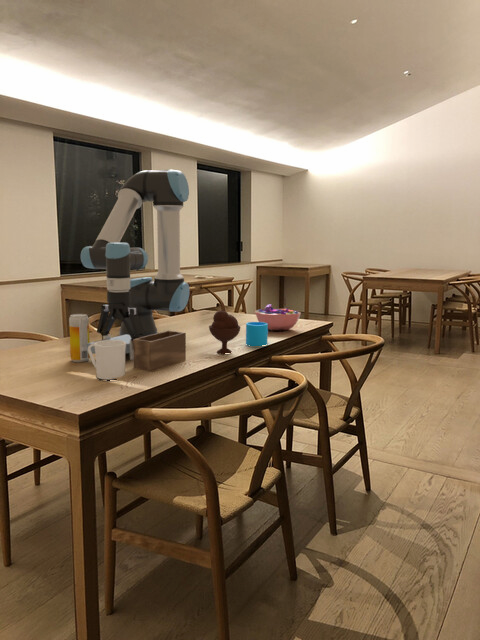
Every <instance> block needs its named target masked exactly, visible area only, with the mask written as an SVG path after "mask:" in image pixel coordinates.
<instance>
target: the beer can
mask: <svg viewBox="0 0 480 640" xmlns="http://www.w3.org/2000/svg"><path fill="white" fill-rule="evenodd" d="M89 320H90V319H89V317H88V314H85V313H73V314H70V316H69V318H68V323H69V327H68V328H69V349H70V351H69V353H70V360H72V362H74V363H85V362H88V361H89V359H91V358H90V355H89V353H87V343H90V321H89Z"/></svg>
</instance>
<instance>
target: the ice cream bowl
mask: <svg viewBox="0 0 480 640" xmlns="http://www.w3.org/2000/svg"><path fill="white" fill-rule="evenodd" d="M212 319H213V322H212V323H211V325H208V329H209V333H210V335H212V337H214V339H216V340H217V341H219V342H220V343H221V348H220V349H218V350H217V351H216V354H218V353H221V354H220V355H224V354H225V353H231V352H232V350H231V349H229V348H228V342H230V341H232V340H234V339H235V338H236V337H237V336H238V335H239V334H240V331H241V326H240V325H239V322H238V319H237V318H236V317H235V316H234V315H232V314H229V313H228V312H227V311H225V310H218V311H216V312H215V313H214V315H213V318H212ZM232 353H233V352H232ZM232 353H231V354H232Z"/></svg>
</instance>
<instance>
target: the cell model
mask: <svg viewBox="0 0 480 640" xmlns="http://www.w3.org/2000/svg"><path fill="white" fill-rule="evenodd" d="M254 312H255V316H256V319H257V322H264V323H267V324H268V331H288V330H291V329H292V328H293V327H294V326H295V325H296V324H297V323H298V321H299V320H300V316H301V313H302V312H301V311H298V310H297V311H296V310H294V309H289V308H273V307H272V304H270V303H269V304H266V305H265V307H264V308H261V309H256V310H255V311H254Z"/></svg>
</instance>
